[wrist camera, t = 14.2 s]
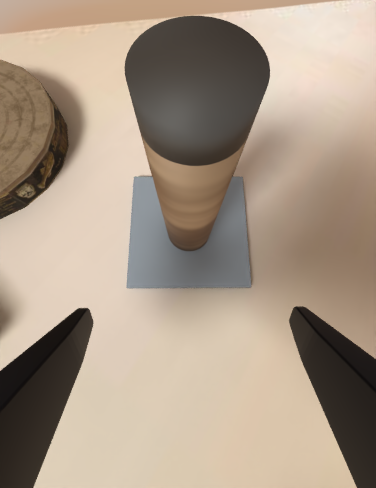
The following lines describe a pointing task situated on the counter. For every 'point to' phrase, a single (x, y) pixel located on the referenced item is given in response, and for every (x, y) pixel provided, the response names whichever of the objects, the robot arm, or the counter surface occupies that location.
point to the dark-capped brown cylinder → (194, 114)
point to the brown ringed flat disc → (27, 139)
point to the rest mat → (187, 262)
